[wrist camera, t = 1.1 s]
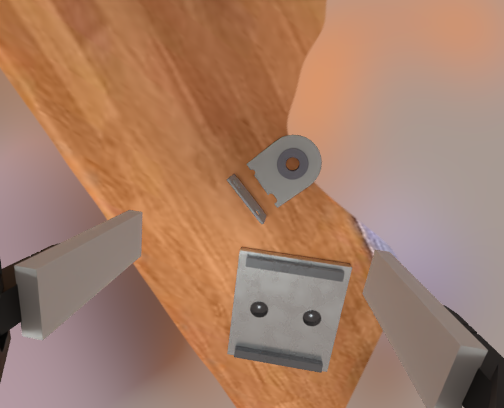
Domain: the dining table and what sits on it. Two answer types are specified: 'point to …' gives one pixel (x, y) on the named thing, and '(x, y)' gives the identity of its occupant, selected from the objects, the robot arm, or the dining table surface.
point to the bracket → (281, 171)
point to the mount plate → (287, 308)
